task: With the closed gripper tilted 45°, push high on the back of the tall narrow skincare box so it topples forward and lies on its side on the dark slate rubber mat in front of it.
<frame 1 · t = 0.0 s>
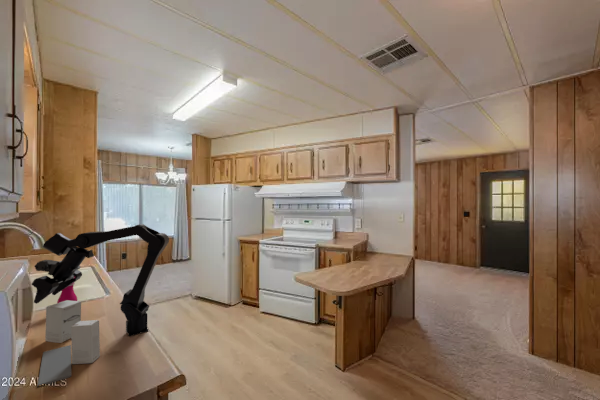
hand: (44, 298, 100), 15 cm above the counter, tool tilted 35°, fingers open, 9 cm apart
pepper mill: (67, 311, 126), on the counter
supplement box: (63, 338, 101), on the counter
rubber mat: (56, 364, 84), on the counter
skincare box: (85, 361, 86), on the counter
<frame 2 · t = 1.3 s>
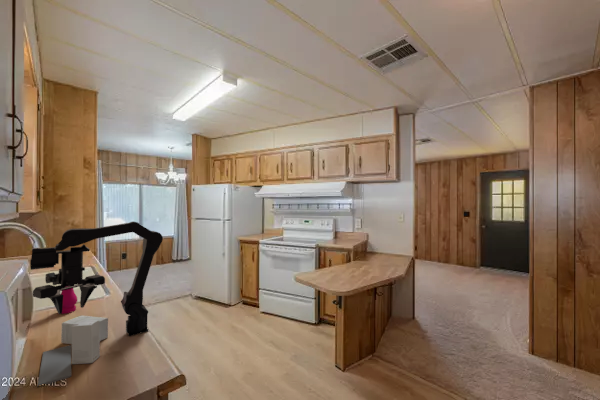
hand: (71, 310, 94), 13 cm above the counter, tool pointing down, fingers open, 6 cm apart
supplement box: (71, 328, 101), point 4 cm above the counter
everything else where it was.
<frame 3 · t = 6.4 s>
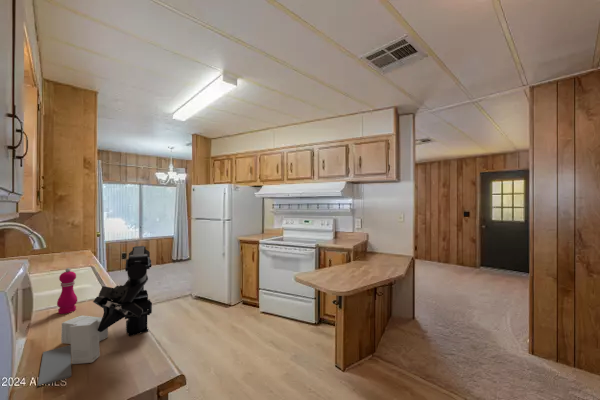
hand: (99, 331, 88), 9 cm above the counter, tool tilted 45°, fingers closed
skincare box: (85, 361, 86), on the counter, touching gripper
everything else where it was.
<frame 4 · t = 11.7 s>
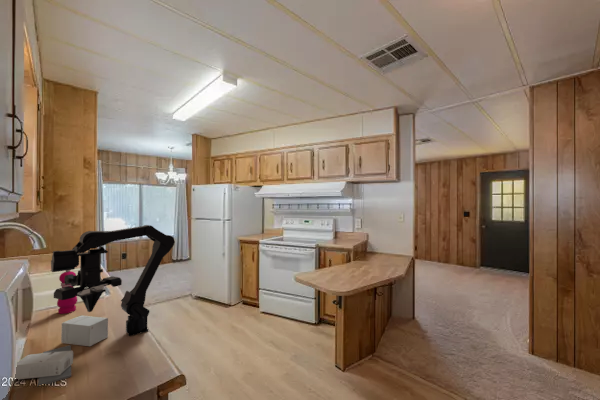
hand: (89, 311, 95), 12 cm above the counter, tool pointing down, fingers closed
skincare box: (68, 362, 81), point 2 cm above the counter, touching rubber mat
everything else where it was.
at the end: skincare box tilted 89°; skincare box touching rubber mat; skincare box inside the target area (3.4 cm from its centre), point 2.5 cm above the counter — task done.
